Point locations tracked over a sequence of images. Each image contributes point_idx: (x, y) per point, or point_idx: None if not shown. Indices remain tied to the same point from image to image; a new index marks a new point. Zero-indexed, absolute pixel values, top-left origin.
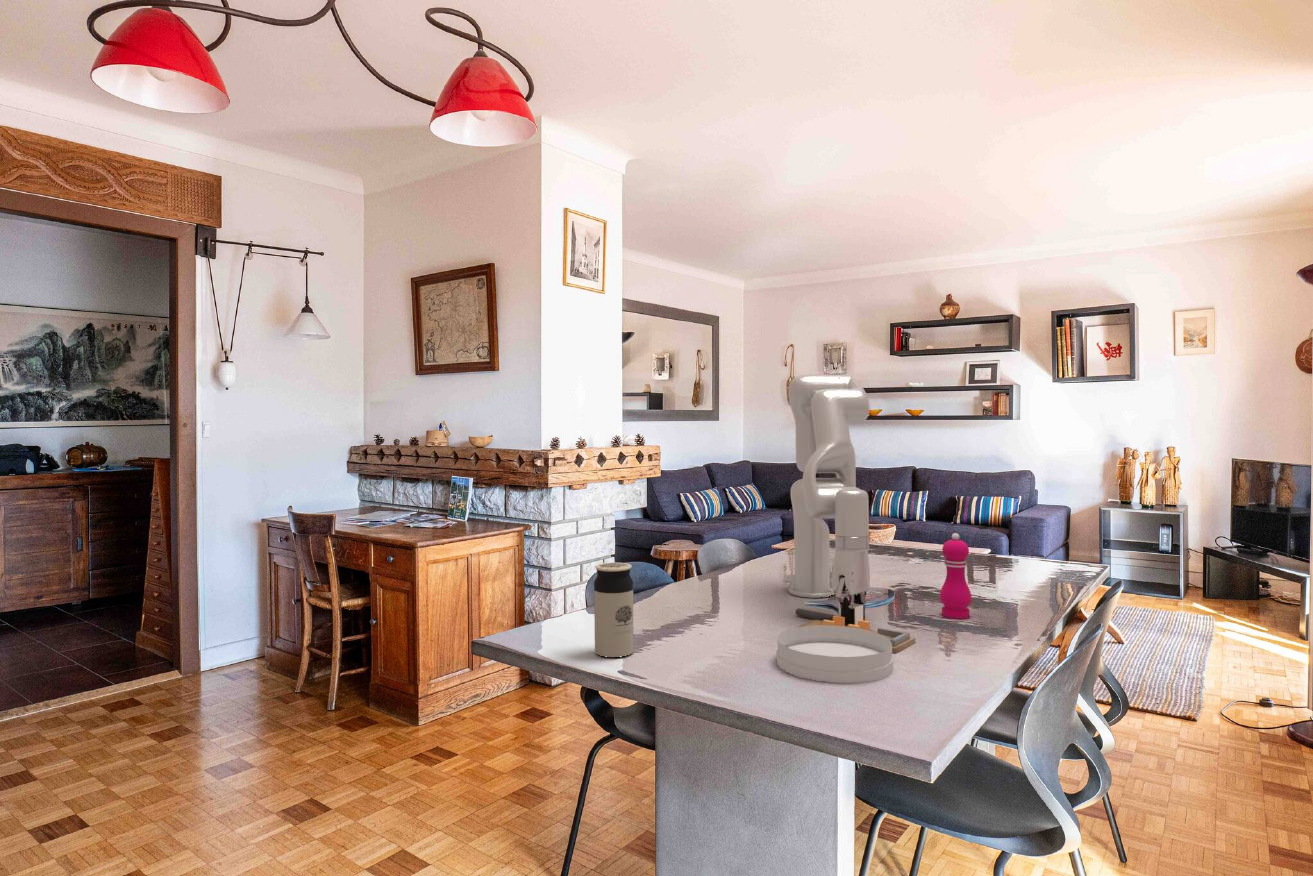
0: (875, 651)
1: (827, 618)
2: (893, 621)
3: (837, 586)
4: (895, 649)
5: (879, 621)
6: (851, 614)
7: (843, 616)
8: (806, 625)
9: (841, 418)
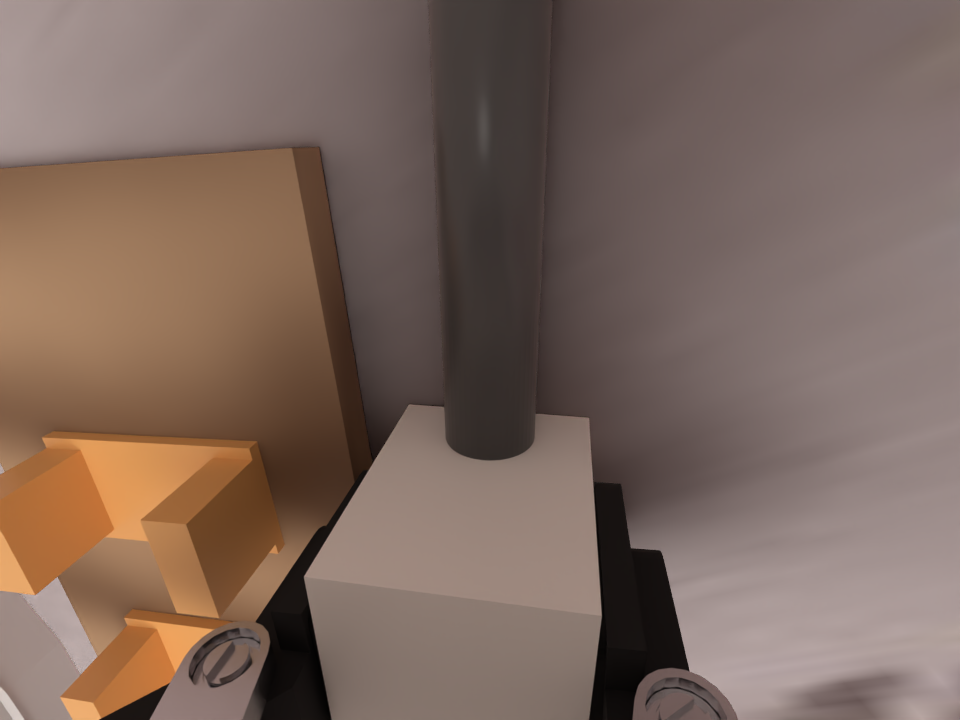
0: None
1: (439, 257)
2: (949, 703)
3: None
4: None
5: (877, 616)
6: None
7: (299, 565)
8: (41, 225)
9: None
